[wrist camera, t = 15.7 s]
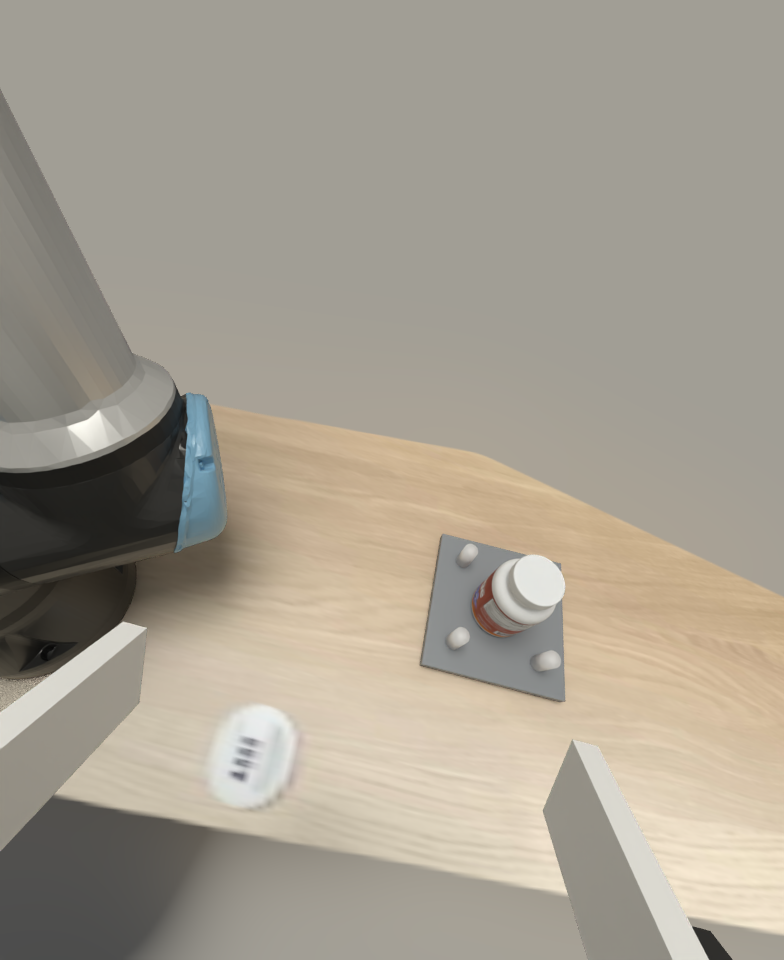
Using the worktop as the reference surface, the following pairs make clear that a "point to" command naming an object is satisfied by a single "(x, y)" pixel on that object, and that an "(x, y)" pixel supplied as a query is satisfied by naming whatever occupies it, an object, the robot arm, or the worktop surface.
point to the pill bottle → (518, 595)
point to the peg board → (472, 651)
